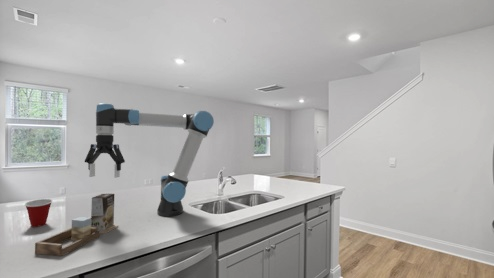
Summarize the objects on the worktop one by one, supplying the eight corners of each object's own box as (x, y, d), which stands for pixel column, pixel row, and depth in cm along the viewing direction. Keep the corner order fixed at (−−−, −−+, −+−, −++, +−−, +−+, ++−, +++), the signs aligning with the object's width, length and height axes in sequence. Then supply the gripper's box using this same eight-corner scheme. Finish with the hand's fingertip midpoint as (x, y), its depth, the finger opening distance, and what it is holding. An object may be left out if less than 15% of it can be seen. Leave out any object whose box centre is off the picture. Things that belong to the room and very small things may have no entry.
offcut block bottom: (90, 237, 104) (90, 231, 104) (82, 241, 100) (83, 234, 100) (79, 236, 105) (79, 230, 105) (71, 240, 101) (71, 233, 101)
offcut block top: (90, 224, 104) (91, 217, 104) (83, 227, 100) (83, 220, 100) (79, 223, 105) (80, 216, 105) (71, 226, 102) (71, 219, 102)
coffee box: (104, 231, 110) (105, 197, 110) (90, 231, 109) (91, 197, 109) (114, 224, 119) (114, 193, 119) (101, 224, 118) (101, 193, 118)
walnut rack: (98, 236, 105) (99, 227, 105) (61, 256, 87) (61, 245, 87) (75, 234, 107) (76, 226, 107) (34, 253, 89) (35, 242, 89)
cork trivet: (118, 226, 118) (118, 225, 118) (104, 233, 109) (104, 232, 109) (100, 225, 119) (100, 224, 119) (86, 232, 110) (86, 230, 110)
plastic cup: (19, 230, 111) (20, 205, 111) (28, 223, 121) (29, 200, 121) (48, 226, 116) (49, 203, 116) (54, 220, 126) (55, 198, 126)
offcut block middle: (90, 231, 104) (91, 224, 104) (83, 234, 100) (83, 227, 100) (79, 230, 105) (79, 223, 105) (71, 233, 101) (71, 226, 102)
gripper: (76, 134, 114) (75, 177, 114) (122, 134, 111) (122, 178, 111) (88, 134, 121) (88, 175, 121) (132, 135, 118) (132, 176, 118)
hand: (104, 176), depth 116 cm, fingers open, 13 cm apart
